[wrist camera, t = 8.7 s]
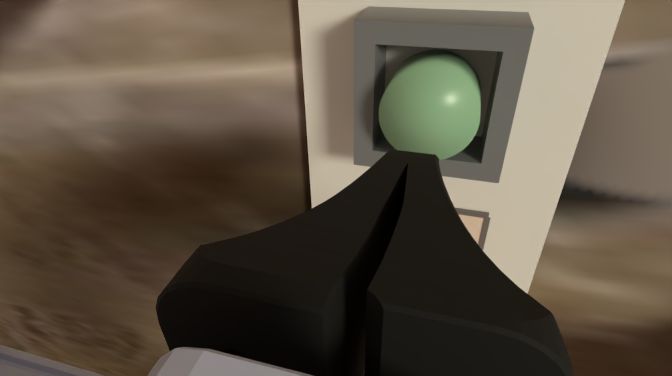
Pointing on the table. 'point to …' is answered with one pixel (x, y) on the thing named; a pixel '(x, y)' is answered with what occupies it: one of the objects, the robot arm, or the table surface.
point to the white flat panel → (528, 124)
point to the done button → (432, 104)
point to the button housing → (441, 32)
